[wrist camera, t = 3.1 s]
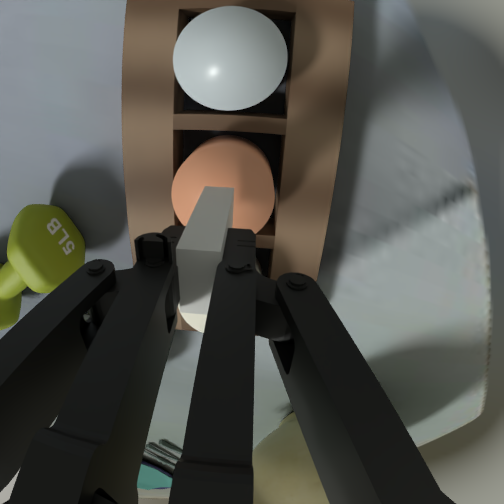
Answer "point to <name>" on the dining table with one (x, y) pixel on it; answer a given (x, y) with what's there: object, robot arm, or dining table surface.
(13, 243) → the dumbbell
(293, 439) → the pitcher
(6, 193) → the dining table surface
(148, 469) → the cutlery set
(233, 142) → the terracotta button
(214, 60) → the grey button
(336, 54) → the wooden compartment tray
